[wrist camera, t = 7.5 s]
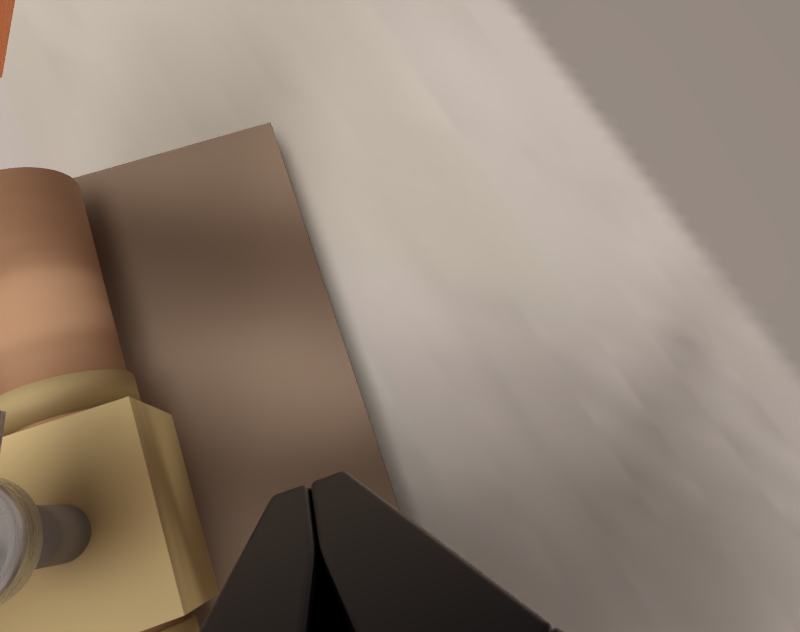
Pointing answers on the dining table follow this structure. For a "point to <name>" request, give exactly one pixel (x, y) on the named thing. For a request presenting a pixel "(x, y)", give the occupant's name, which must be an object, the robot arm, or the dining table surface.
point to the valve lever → (4, 500)
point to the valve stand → (164, 378)
